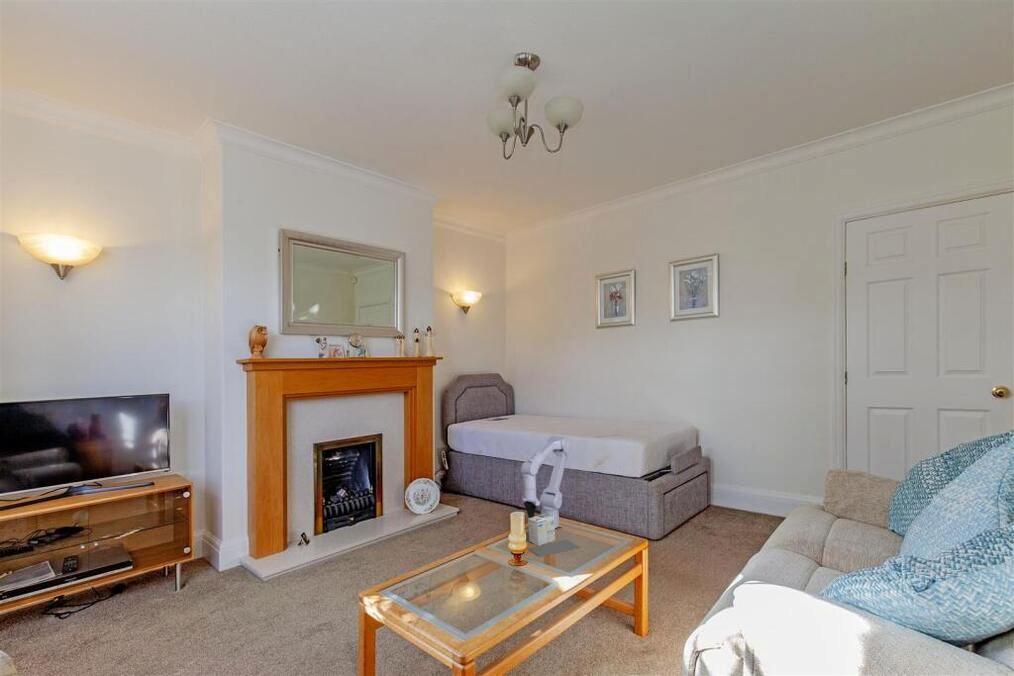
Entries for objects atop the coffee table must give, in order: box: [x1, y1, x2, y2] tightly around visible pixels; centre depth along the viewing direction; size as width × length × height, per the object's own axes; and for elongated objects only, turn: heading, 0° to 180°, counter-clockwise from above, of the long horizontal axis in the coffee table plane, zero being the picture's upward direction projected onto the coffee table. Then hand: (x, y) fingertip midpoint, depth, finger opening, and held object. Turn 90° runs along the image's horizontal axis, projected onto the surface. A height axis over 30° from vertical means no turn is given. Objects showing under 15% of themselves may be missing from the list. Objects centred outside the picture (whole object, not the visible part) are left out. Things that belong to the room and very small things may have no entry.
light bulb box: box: [527, 514, 556, 546], centre depth 216 cm, size 11×7×11 cm, turn 130°
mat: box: [527, 539, 581, 558], centre depth 206 cm, size 11×20×1 cm, turn 115°
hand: (531, 517), depth 225 cm, fingers closed
